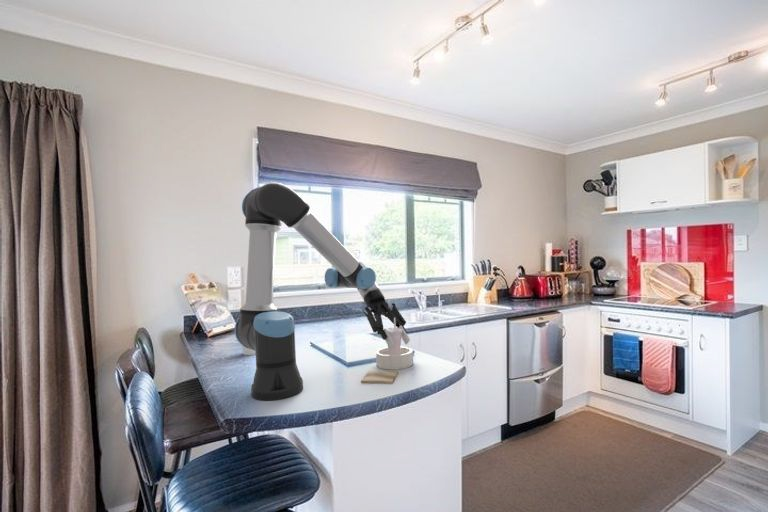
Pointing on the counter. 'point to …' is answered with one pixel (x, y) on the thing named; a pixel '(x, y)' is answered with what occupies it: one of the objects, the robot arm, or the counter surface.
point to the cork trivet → (380, 377)
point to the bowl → (394, 359)
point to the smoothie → (395, 339)
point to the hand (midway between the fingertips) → (400, 343)
